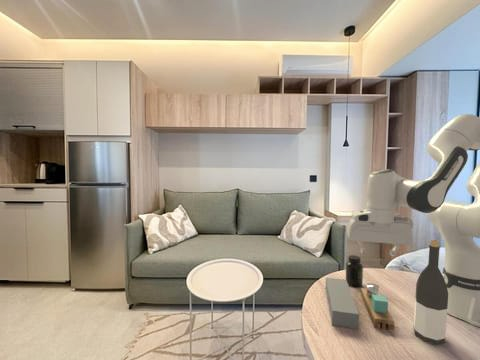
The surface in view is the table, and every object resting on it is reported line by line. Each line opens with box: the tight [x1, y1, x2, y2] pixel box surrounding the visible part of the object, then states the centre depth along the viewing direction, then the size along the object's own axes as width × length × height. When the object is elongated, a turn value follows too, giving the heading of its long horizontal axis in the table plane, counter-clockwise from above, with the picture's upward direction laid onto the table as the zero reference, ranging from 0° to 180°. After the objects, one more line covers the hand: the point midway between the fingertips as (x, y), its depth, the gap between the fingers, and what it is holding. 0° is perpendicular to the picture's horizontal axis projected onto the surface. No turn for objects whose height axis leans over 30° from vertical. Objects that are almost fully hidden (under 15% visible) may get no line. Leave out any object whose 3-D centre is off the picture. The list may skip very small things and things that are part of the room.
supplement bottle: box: [345, 255, 364, 288], centre depth 110 cm, size 7×7×12 cm
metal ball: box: [366, 282, 380, 298], centre depth 95 cm, size 4×4×4 cm
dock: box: [325, 277, 360, 330], centre depth 93 cm, size 8×24×5 cm, turn 166°
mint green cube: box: [371, 294, 389, 313], centre depth 86 cm, size 4×4×4 cm
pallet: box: [360, 287, 395, 332], centre depth 90 cm, size 6×20×4 cm, turn 166°
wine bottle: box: [413, 240, 448, 346], centre depth 77 cm, size 8×8×30 cm
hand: (377, 254), depth 89 cm, fingers open, 8 cm apart
